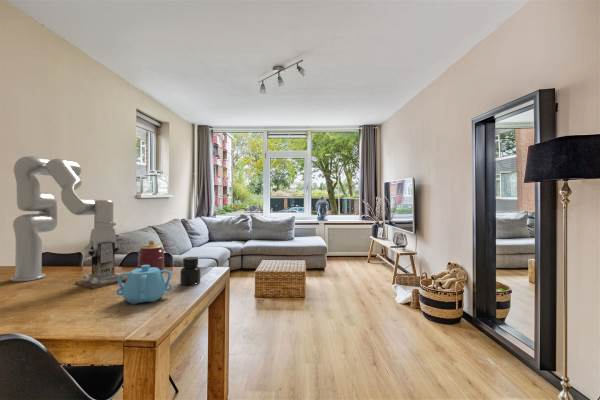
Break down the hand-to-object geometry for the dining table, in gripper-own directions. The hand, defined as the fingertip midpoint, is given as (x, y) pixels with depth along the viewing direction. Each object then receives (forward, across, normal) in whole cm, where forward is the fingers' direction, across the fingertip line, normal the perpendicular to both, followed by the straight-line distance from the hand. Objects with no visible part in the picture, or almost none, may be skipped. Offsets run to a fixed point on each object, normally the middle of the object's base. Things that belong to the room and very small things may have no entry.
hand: (103, 263), depth 140 cm
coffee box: (+6, 0, 0) cm, 6 cm away
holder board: (+9, 0, 0) cm, 9 cm away
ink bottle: (+9, -21, +36) cm, 43 cm away
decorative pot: (+9, +4, +40) cm, 41 cm away
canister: (+9, -23, +2) cm, 25 cm away
